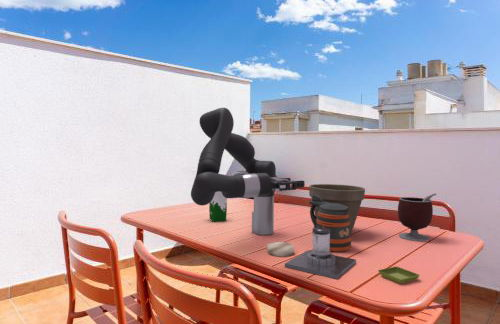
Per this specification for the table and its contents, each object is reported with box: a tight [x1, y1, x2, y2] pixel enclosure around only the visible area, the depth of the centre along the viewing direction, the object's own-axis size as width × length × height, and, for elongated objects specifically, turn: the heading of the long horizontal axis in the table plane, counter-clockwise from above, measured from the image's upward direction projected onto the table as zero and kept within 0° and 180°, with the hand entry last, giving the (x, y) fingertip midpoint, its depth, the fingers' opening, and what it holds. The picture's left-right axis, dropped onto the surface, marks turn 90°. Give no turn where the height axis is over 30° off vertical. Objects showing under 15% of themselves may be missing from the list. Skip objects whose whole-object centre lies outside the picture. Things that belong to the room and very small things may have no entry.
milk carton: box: [208, 192, 228, 223], centre depth 185 cm, size 9×9×20 cm
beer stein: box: [308, 194, 352, 253], centre depth 139 cm, size 19×15×20 cm
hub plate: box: [284, 249, 357, 280], centre depth 117 cm, size 18×18×3 cm
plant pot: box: [308, 183, 366, 236], centre depth 160 cm, size 25×25×22 cm
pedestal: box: [266, 241, 295, 258], centre depth 130 cm, size 10×10×2 cm
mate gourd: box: [397, 192, 437, 242], centre depth 153 cm, size 16×14×20 cm
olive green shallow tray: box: [377, 266, 420, 285], centre depth 106 cm, size 9×9×2 cm
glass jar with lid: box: [312, 227, 331, 259], centre depth 116 cm, size 6×6×11 cm
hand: (296, 182), depth 117 cm, fingers open, 8 cm apart
